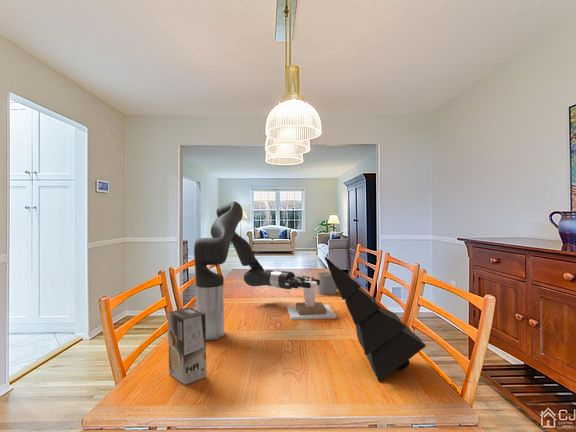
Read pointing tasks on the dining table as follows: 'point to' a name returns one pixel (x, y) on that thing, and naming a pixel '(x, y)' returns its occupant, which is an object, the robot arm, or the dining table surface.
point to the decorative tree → (376, 327)
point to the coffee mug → (326, 284)
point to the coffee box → (187, 345)
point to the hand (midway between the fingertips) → (314, 283)
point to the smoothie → (310, 293)
